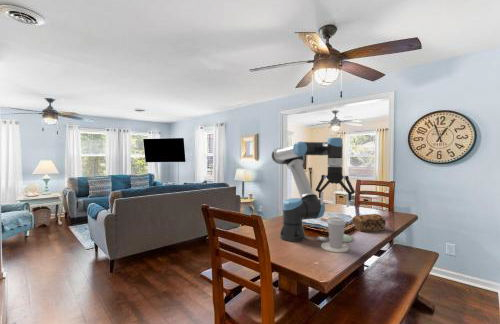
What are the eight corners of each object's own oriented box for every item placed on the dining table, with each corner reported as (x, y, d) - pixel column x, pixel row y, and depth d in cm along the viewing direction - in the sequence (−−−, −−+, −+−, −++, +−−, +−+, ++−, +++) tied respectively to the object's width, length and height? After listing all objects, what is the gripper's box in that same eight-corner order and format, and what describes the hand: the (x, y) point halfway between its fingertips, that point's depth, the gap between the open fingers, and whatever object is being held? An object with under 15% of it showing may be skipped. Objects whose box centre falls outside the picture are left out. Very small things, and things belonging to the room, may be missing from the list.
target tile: (315, 240, 147) (315, 239, 147) (318, 237, 153) (318, 235, 153) (327, 242, 143) (327, 241, 143) (329, 238, 149) (329, 237, 149)
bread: (376, 226, 176) (376, 212, 175) (386, 231, 165) (386, 216, 165) (351, 228, 173) (351, 213, 173) (360, 232, 162) (360, 217, 162)
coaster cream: (318, 249, 132) (318, 247, 132) (324, 241, 144) (324, 240, 144) (346, 254, 125) (346, 253, 125) (350, 246, 137) (350, 244, 137)
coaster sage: (326, 239, 148) (326, 238, 148) (331, 233, 160) (331, 232, 160) (351, 243, 141) (351, 242, 141) (354, 236, 153) (354, 235, 153)
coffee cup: (349, 247, 133) (349, 219, 133) (338, 251, 128) (338, 222, 128) (333, 242, 141) (334, 215, 141) (323, 245, 136) (323, 218, 135)
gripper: (310, 166, 137) (309, 204, 138) (359, 167, 125) (358, 209, 125) (313, 165, 144) (313, 202, 144) (360, 166, 131) (360, 206, 132)
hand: (334, 205), depth 135 cm, fingers open, 13 cm apart
